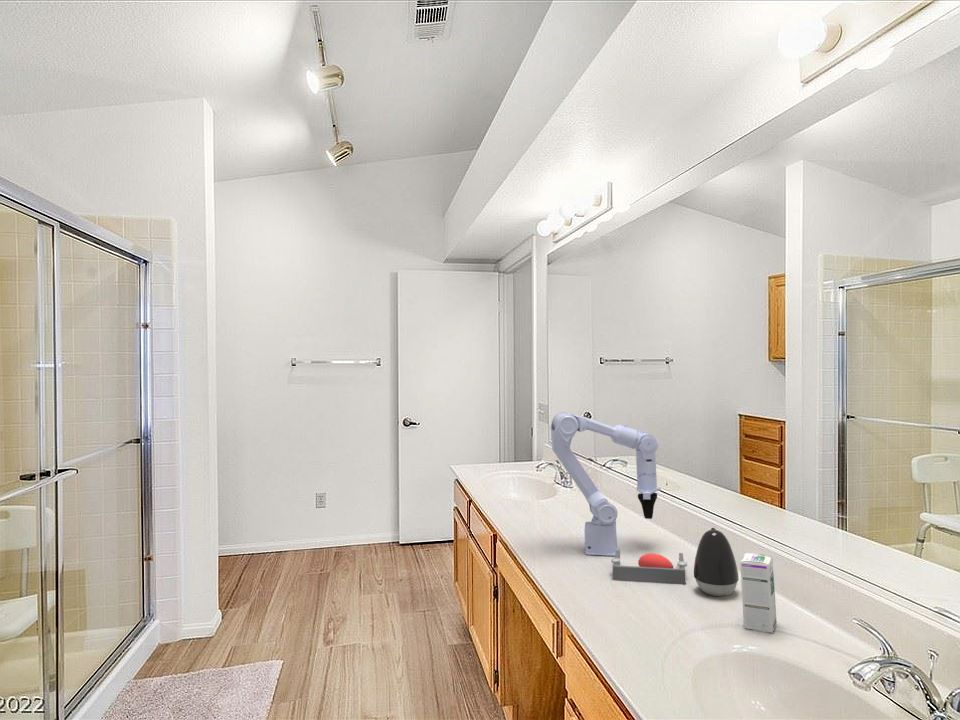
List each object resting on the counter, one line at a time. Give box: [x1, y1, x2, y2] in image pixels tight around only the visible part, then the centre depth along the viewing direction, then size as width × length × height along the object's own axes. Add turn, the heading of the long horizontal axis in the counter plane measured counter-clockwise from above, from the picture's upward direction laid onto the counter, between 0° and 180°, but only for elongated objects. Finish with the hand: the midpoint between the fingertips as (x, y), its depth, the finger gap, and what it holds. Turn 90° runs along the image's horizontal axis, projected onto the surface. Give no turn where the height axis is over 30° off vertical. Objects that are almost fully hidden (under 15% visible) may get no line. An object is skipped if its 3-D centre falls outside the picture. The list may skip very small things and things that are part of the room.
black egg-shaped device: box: [693, 527, 739, 597], centre depth 147 cm, size 10×10×15 cm
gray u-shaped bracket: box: [610, 549, 688, 585], centre depth 162 cm, size 19×14×4 cm
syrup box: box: [739, 552, 778, 634], centre depth 128 cm, size 6×6×14 cm
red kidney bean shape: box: [637, 553, 674, 568], centre depth 162 cm, size 5×9×6 cm, turn 40°
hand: (648, 518), depth 182 cm, fingers closed
